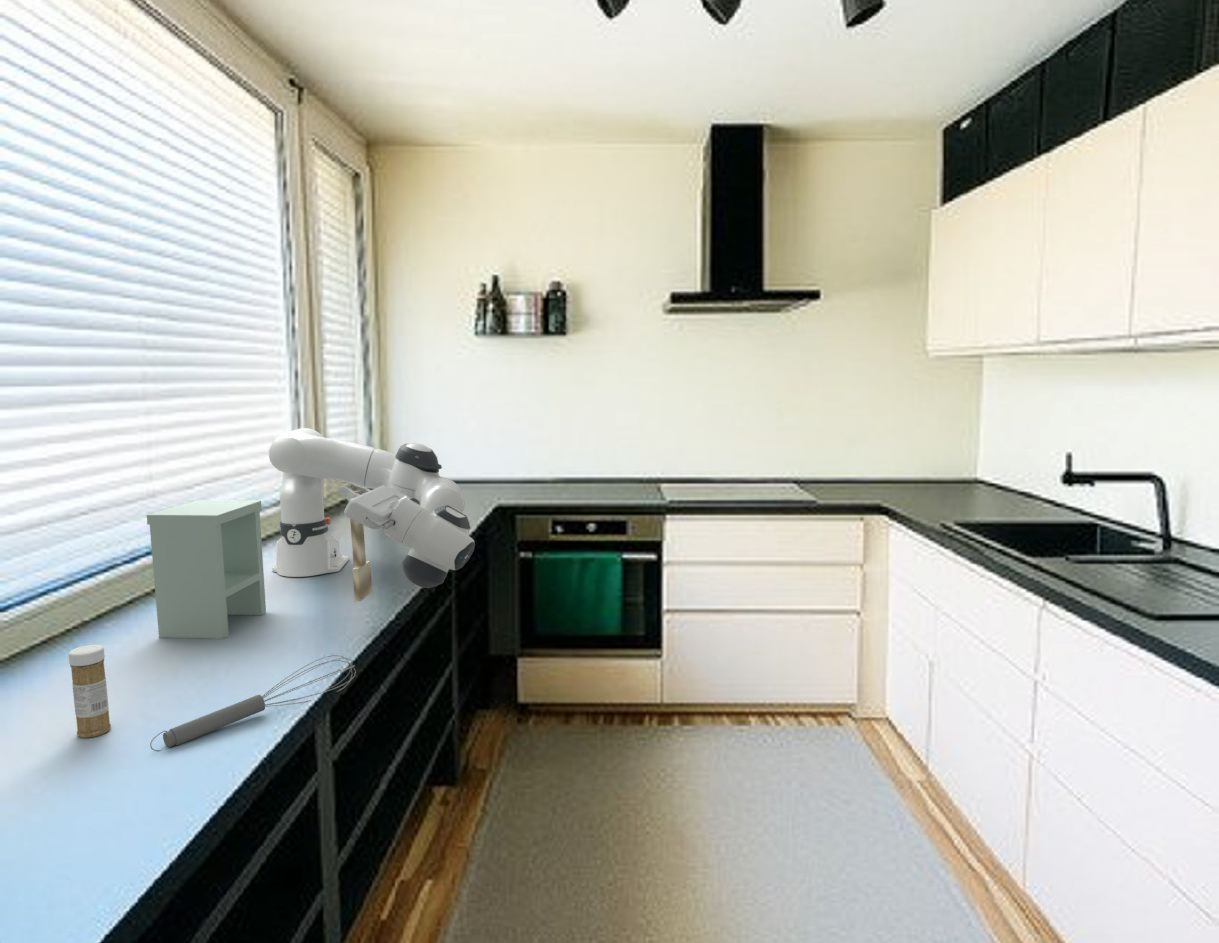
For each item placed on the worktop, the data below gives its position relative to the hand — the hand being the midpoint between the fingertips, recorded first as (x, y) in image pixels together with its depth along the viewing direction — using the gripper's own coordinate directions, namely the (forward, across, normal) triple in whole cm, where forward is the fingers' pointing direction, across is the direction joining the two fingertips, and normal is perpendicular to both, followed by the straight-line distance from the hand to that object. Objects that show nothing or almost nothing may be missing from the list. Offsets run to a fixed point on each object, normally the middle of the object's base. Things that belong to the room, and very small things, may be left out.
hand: (344, 487), depth 171 cm
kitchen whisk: (-18, -44, -25) cm, 54 cm away
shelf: (+11, 0, -42) cm, 43 cm away
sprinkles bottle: (+2, -52, -37) cm, 64 cm away
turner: (-9, 0, -9) cm, 13 cm away
